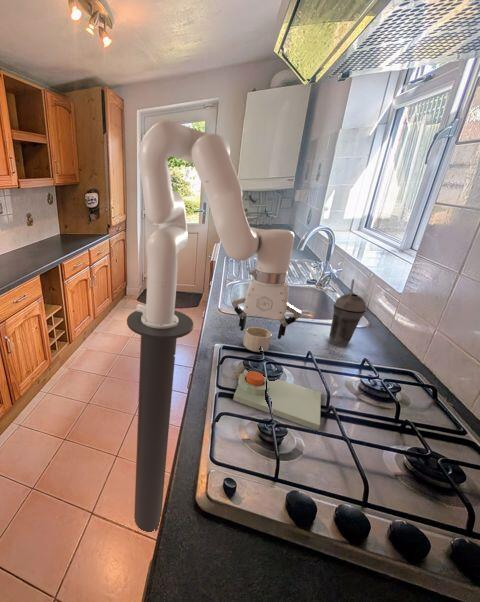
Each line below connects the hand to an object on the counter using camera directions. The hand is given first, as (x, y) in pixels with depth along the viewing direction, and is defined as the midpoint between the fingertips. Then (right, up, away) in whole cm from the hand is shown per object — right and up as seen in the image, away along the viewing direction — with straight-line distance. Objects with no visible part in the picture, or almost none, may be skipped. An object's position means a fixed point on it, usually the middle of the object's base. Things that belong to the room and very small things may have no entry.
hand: (260, 332), depth 87 cm
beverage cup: (+25, -4, +3) cm, 26 cm away
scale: (-7, -13, -19) cm, 24 cm away
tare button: (-11, -10, -17) cm, 22 cm away
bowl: (0, -4, +2) cm, 5 cm away
